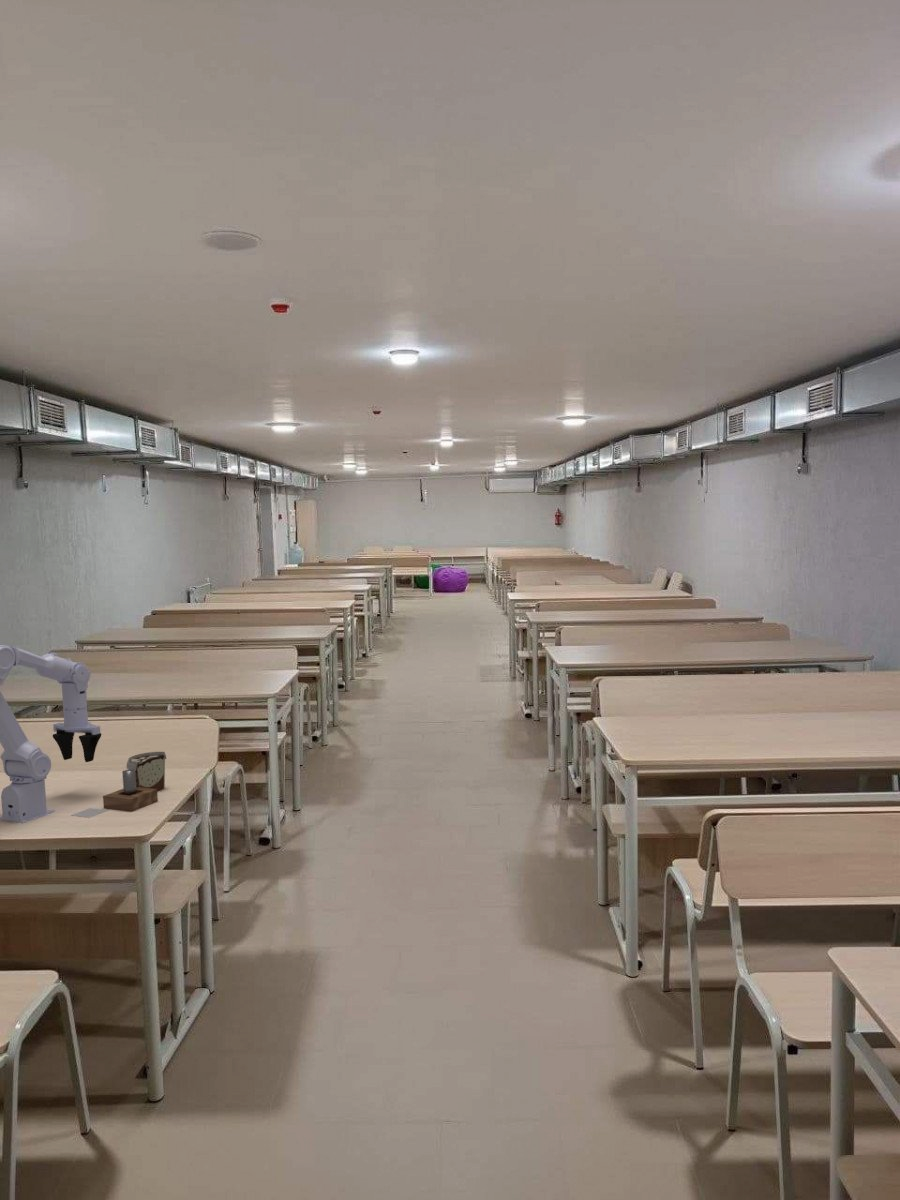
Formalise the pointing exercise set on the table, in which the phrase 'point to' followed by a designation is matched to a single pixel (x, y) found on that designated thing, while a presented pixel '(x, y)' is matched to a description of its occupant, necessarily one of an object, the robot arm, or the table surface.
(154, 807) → the table surface
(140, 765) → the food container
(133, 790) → the peg
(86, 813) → the mat
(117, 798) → the hole block
